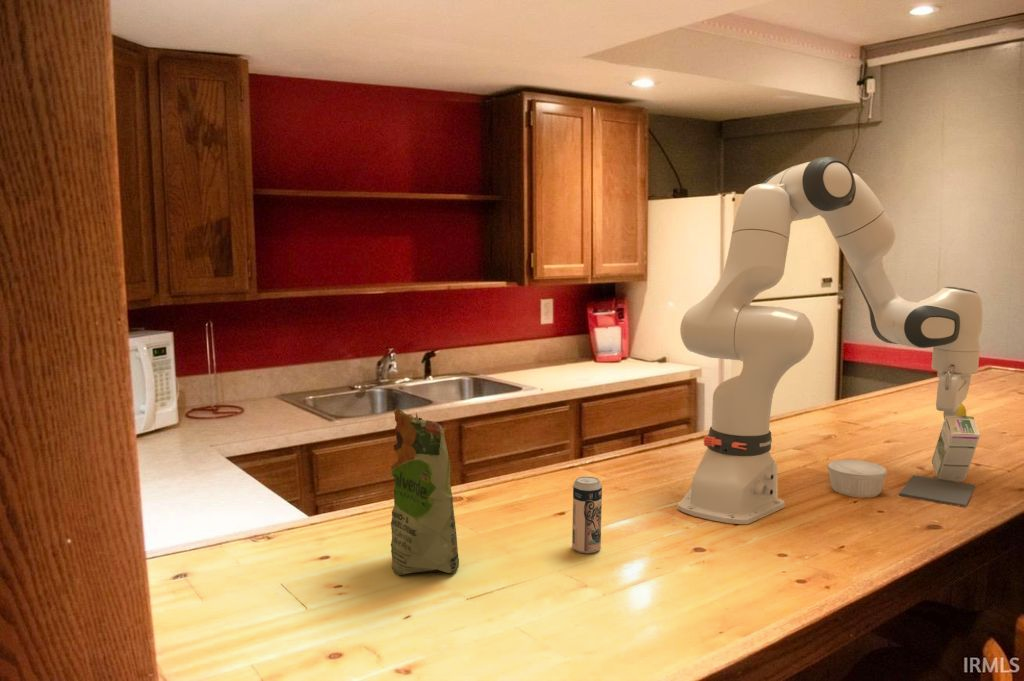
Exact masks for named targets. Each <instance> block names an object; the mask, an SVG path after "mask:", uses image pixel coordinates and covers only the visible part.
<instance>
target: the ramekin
mask: <svg viewBox="0 0 1024 681" xmlns="http://www.w3.org/2000/svg"><path fill="white" fill-rule="evenodd" d="M827 471H828V475H829V483H830V487H831V489H832V490H833V492H836V493H837V492H838V494H841V495H843V494H844V495H843V496H847V495H848V496H847V497H853V498H860V497H863V498H865V497H868V498H875V497H878V496H879V495H880V494H881V493H882V491H883V487H884V482H885V479H886V478H885V477H886V476H887V474H888V472H887V471H888V470H887V469H886V468H885V467H884V466H881V465H880V464H877V463H874V462H870V461H865V460H855V459H839V460H838V459H837V460H832V461H830V462H829V463H828V464H827Z"/></svg>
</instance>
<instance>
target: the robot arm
mask: <svg viewBox="0 0 1024 681" xmlns="http://www.w3.org/2000/svg"><path fill="white" fill-rule="evenodd" d="M741 197H742V198H741V200H740V202H739V204H738V205H739V206H738V208H737V210H736V215H735V216H734V217H735V218H734V221H733V225H732V230H731V237H730V240H729V248H728V252H727V258H726V260H725V266H724V268H723V270H722V273H721V276H720V278H719V280H718V281H717V283H716V285H715V286H714V287H713V289H712V290H711V291H710V292H709V293H708V294H707V295H706V297H704V298H702V300H700V301H699V302H698V303H696V304H694V305H692V306H691V307H689V309H687V311H686V312H685V313H684V315H683V317H682V319H681V323H680V328H679V331H680V339H681V341H682V343H683V345H684V347H685V348H686V349H687V351H688V352H691V353H694V354H697V355H700V356H704V357H706V358H710V359H711V358H712V359H723V360H730V361H731V360H732V361H733V360H734V361H741V362H742V368H741V372H740V374H739V375H736V376H733V377H731V378H729V379H726V380H725V381H722V382H721V383H720V384H719V385H717V387H716V388H715V389H714V392H713V394H712V408H711V410H712V414H711V426H710V427H709V432H708V433H707V434H706V435H705V436H704V438H703V445H704V446H705V447H706V450H705V451H704V454H703V455H702V458H701V460H700V462H699V464H698V466H697V468H696V470H695V473H694V475H693V478H692V481H691V482H692V483H691V487H690V489H689V490H688V491H687V492H686V494H685V495H684V497H683V498H682V499H681V501H680V502H679V504H678V506H677V509H678V511H680V512H682V513H684V514H687V515H690V516H693V517H696V518H701V519H705V520H708V521H714V522H722V523H724V524H725V523H727V524H737V525H747V524H751V523H753V522H755V521H757V520H759V519H762V518H764V517H766V516H769V515H771V514H773V513H775V512H777V511H780V510H782V509H785V507H786V503H785V501H784V500H783V499H781V498H780V497H778V496H779V494H778V493H779V490H778V489H779V488H778V482H779V481H778V479H779V478H778V476H779V475H778V473H779V472H778V463H777V462H776V461H775V459H774V458H773V456H772V454H771V453H770V450H772V442H773V441H772V432H771V430H770V427H771V426H770V425H771V412H772V411H771V410H772V404H773V397H774V393H775V389H776V388H777V386H778V384H779V382H780V380H781V378H782V377H783V376H784V375H785V373H787V372H788V371H789V370H790V369H791V368H792V367H793V366H795V365H796V364H798V363H800V362H801V361H802V360H804V359H805V358H806V357H807V355H808V354H809V353H810V351H811V350H812V347H813V344H814V338H815V337H814V336H815V334H814V327H813V326H812V325H813V324H812V323H811V321H810V319H809V317H807V315H806V314H805V313H804V312H801V311H797V310H795V309H794V310H793V309H790V308H785V307H781V306H769V305H751V303H752V302H753V300H754V299H755V298H756V297H758V296H759V294H761V293H762V292H765V291H767V290H769V289H773V288H774V287H775V286H777V285H778V284H779V282H780V281H781V280H782V278H783V276H784V275H785V268H786V261H787V255H788V250H789V244H790V237H791V236H790V234H791V227H792V226H791V225H792V223H793V222H797V221H801V220H808V219H809V220H810V219H812V218H815V217H819V216H820V218H823V219H824V221H825V223H826V225H827V228H828V229H829V231H830V233H831V235H832V237H833V238H834V239H835V242H836V243H837V245H838V247H839V248H840V250H841V252H842V254H843V256H844V257H845V259H846V262H847V265H848V267H849V269H850V271H851V275H852V277H853V278H854V281H855V282H856V283H857V286H858V288H859V291H860V292H861V295H862V296H863V298H864V301H865V302H866V305H867V308H868V311H869V312H868V313H869V318H870V319H869V320H870V326H871V329H872V331H873V334H874V335H875V336H876V337H877V338H878V339H879V340H880V341H882V342H883V343H887V344H894V345H902V346H906V347H913V348H917V349H928V348H932V354H931V355H932V356H931V358H932V359H931V370H934V371H937V375H936V376H937V377H938V382H937V392H936V402H935V409H936V410H937V411H939V412H943V413H944V415H945V416H956V415H957V411H958V407H959V406H960V404H961V403H962V404H963V403H964V401H965V400H966V399H967V395H968V393H969V390H970V383H971V378H972V374H976V373H978V371H979V362H980V352H981V351H980V350H981V349H980V345H979V344H980V343H979V338H980V335H981V333H982V328H983V301H982V299H981V295H980V294H979V293H978V292H976V291H975V290H971V289H967V288H961V287H960V288H959V287H956V286H945V287H941V289H939V291H938V292H936V293H934V294H933V295H931V296H929V297H927V298H924V299H922V300H918V301H910V300H906V299H904V298H903V297H902V296H900V295H899V294H898V293H897V292H896V290H895V288H894V286H893V284H892V282H891V280H890V277H889V276H888V273H887V272H886V270H885V267H884V264H883V258H884V257H885V256H886V255H887V254H888V253H889V252H890V250H891V249H892V248H893V245H894V242H895V239H896V233H895V228H894V226H893V225H894V224H893V223H892V220H891V218H890V216H889V214H888V213H887V211H886V210H885V207H883V205H882V203H881V201H880V199H878V197H877V196H876V194H875V192H874V191H873V190H872V189H871V188H870V186H869V185H868V184H867V182H866V181H864V180H863V178H861V176H859V175H858V174H857V173H854V172H853V171H852V170H851V168H850V166H848V164H846V163H845V162H844V161H843V160H841V159H839V158H837V157H834V156H822V157H818V158H817V157H816V158H814V159H813V160H811V161H807V162H804V163H800V164H795V165H793V166H790V167H789V168H788V167H787V168H786V169H784V170H782V171H780V172H778V173H777V174H774V175H773V174H772V175H771V176H769V177H768V178H767V179H766V180H764V181H763V182H762V183H759V184H755V185H752V186H750V187H749V188H748V189H746V190H745V191H744V193H743V194H742V196H741Z"/></svg>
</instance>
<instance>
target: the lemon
mask: <svg viewBox="0 0 1024 681" xmlns="http://www.w3.org/2000/svg"><path fill="white" fill-rule="evenodd" d="M956 416H967V409H966V406H965V405H964V404H963V402H962V403H961V404H960V406H959V407H958V411H957V415H956ZM943 419H945V415H944V412H943Z"/></svg>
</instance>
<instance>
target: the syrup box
mask: <svg viewBox="0 0 1024 681" xmlns="http://www.w3.org/2000/svg"><path fill="white" fill-rule="evenodd" d="M943 419H944V418H943ZM980 437H981V434H980V432H979V428H978V426H977V423H976V420H975V417H974V416H971V415H970V416H969V415H968V416H967V415H966V416H945V419H944V421H943V423H942V426H941V429H940V433H939V436H938V438H937V443H936V445H935V448H934V453H933V455H932V459H931V464H932V468H933V470H934V475H935V478H936V479H942V480H948V481H954V482H961V483H964V482H965V481H966V478H967V474H968V472H969V470H970V467H971V464H972V461H973V458H974V455H975V452H976V449H977V445H978V444H979V441H980Z"/></svg>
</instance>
